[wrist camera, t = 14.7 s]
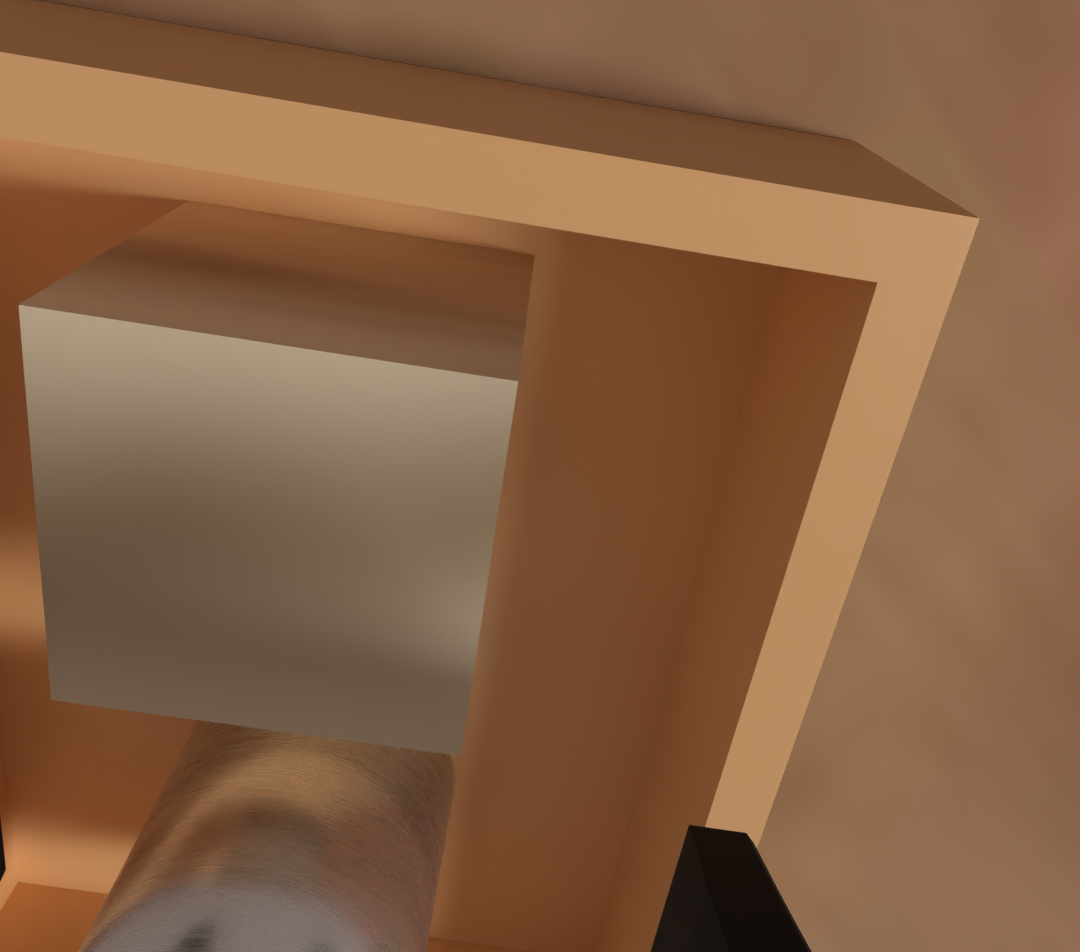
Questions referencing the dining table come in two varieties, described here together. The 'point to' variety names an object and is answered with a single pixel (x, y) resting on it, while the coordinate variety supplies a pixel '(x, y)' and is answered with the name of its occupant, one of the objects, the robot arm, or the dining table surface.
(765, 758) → the light wood open box
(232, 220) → the beech cube
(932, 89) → the dining table surface
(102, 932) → the steel cylinder
